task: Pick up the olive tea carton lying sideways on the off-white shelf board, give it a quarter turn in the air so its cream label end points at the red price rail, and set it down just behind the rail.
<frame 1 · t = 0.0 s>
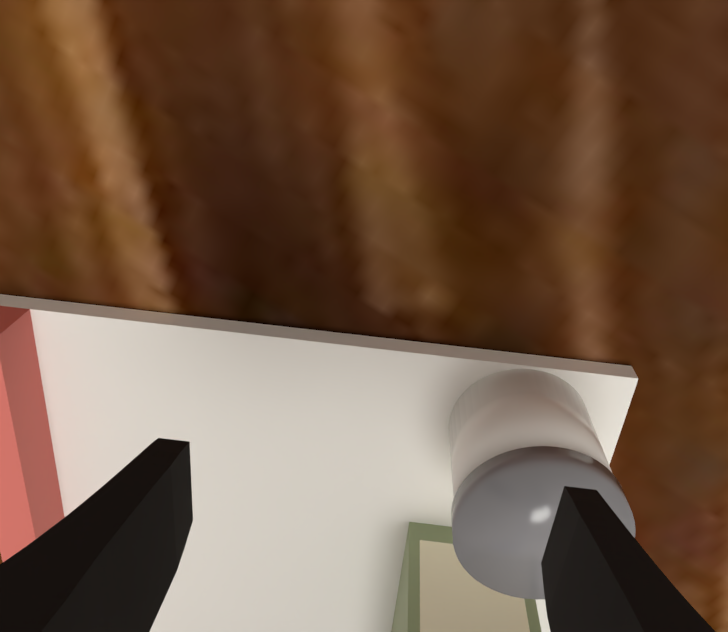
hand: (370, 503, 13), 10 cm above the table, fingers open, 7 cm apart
spice jar: (517, 427, 23), point 1 cm above the table, touching shelf board
shelf board: (300, 521, 27), on the table
tea carton: (452, 591, 27), point 1 cm above the table, touching shelf board
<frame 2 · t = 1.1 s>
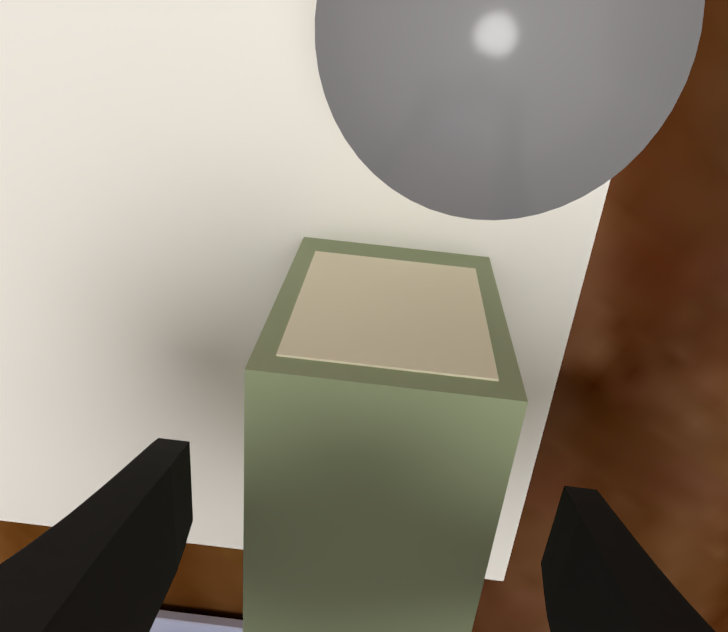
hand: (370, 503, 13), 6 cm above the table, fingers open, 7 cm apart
spice jar: (473, 19, 13), point 1 cm above the table, touching shelf board
shelf board: (141, 262, 17), on the table
tea carton: (381, 372, 17), point 1 cm above the table, touching shelf board
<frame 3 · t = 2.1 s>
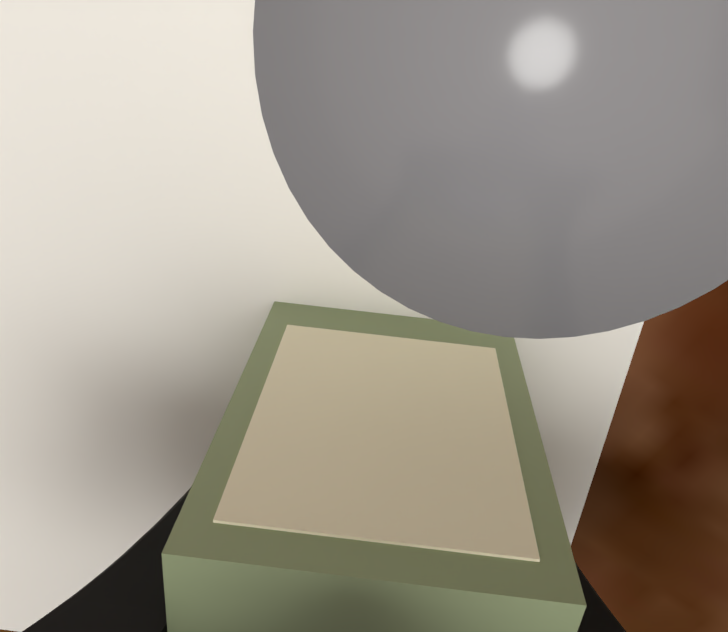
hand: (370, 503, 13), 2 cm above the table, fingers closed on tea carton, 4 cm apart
spice jar: (495, 25, 10), point 1 cm above the table, touching shelf board
shelf board: (75, 325, 14), on the table
tea carton: (374, 462, 14), point 1 cm above the table, touching gripper, shelf board
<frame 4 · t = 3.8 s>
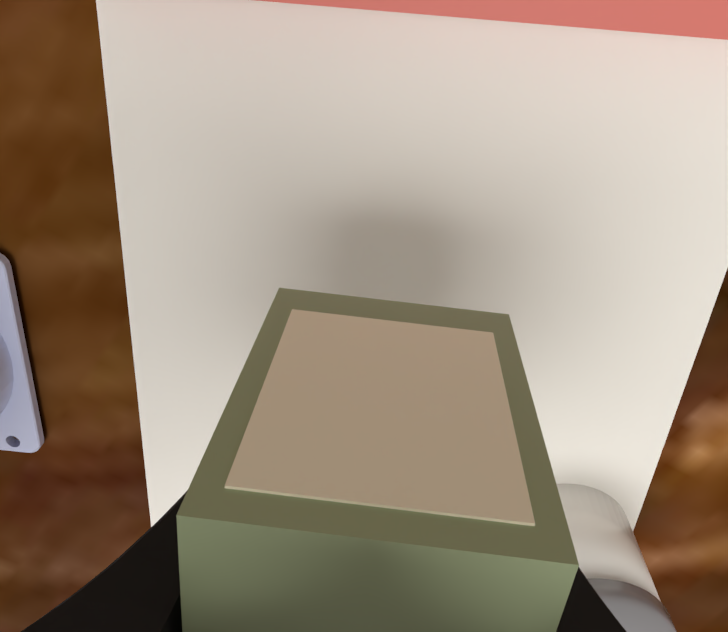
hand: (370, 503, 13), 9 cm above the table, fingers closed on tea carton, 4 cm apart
spice jar: (561, 533, 24), point 1 cm above the table, touching shelf board
shelf board: (406, 328, 21), on the table
tea carton: (374, 446, 14), point 8 cm above the table, touching gripper
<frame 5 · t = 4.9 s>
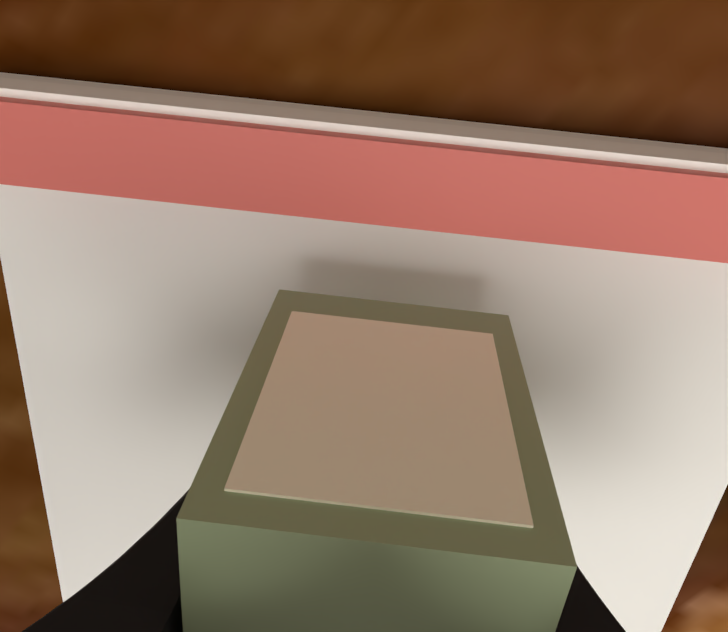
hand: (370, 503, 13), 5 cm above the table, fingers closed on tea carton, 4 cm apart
shelf board: (364, 507, 19), on the table
tea carton: (375, 447, 14), point 3 cm above the table, touching gripper
when the fingers open (3 cm above the table, at t = 5.7 s): tea carton stays where it is, resting on shelf board.
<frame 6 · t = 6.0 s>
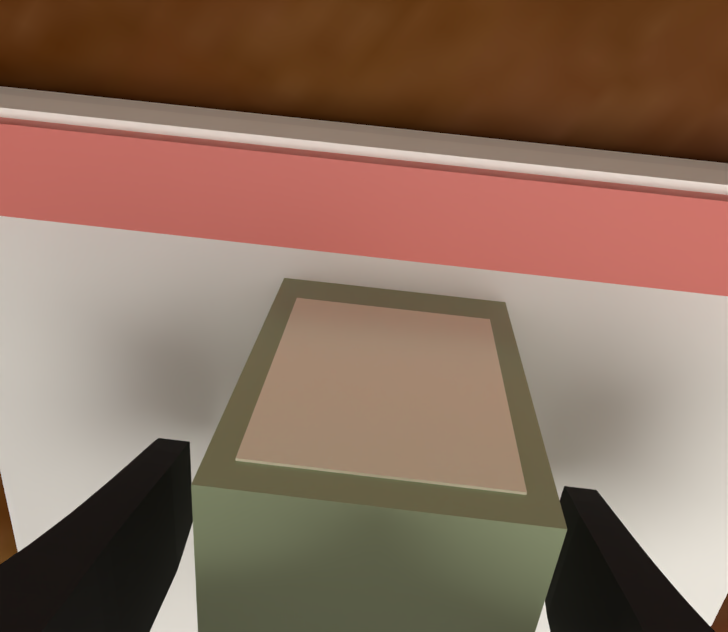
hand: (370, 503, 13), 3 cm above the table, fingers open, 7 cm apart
shelf board: (362, 549, 17), on the table
tea carton: (377, 431, 15), point 1 cm above the table, touching shelf board
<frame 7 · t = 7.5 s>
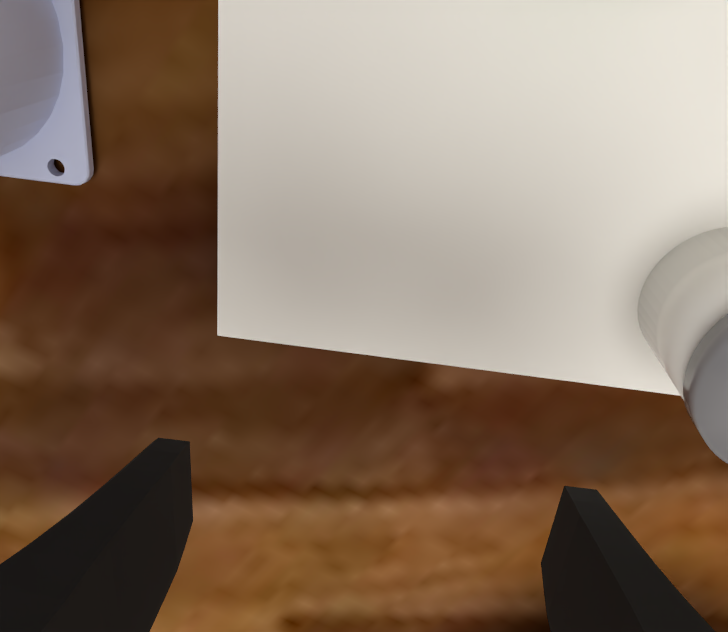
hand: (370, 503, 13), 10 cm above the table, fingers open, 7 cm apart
spice jar: (719, 301, 20), point 1 cm above the table, touching shelf board
shelf board: (562, 4, 17), on the table
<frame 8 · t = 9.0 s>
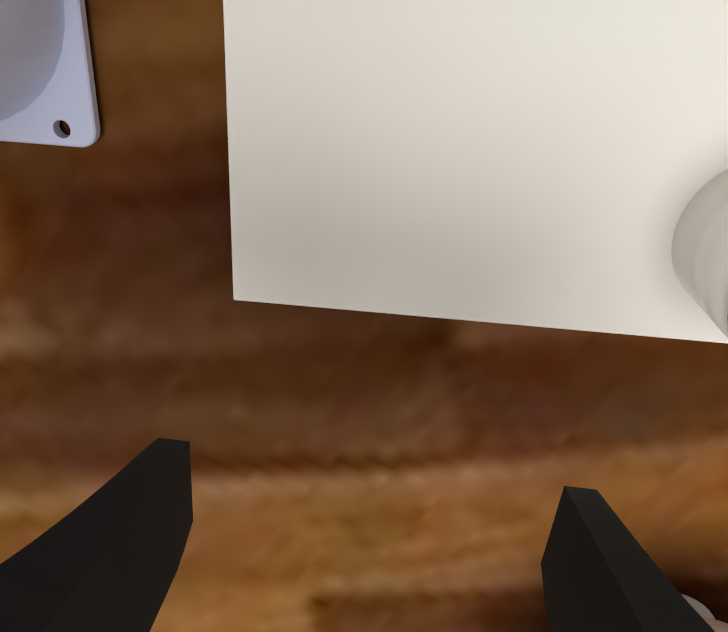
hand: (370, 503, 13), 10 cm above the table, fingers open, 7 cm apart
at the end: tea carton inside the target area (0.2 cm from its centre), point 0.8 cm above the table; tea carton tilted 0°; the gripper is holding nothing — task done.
